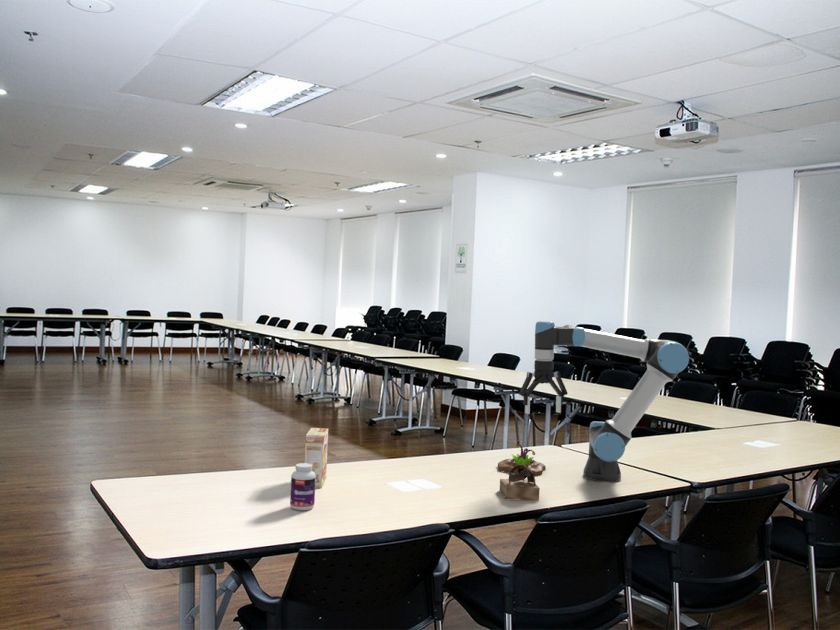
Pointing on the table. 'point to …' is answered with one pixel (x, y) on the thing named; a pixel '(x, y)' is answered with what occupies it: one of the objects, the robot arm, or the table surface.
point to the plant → (522, 462)
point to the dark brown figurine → (521, 474)
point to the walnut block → (519, 490)
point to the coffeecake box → (317, 453)
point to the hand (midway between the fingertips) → (542, 413)
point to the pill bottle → (302, 487)
